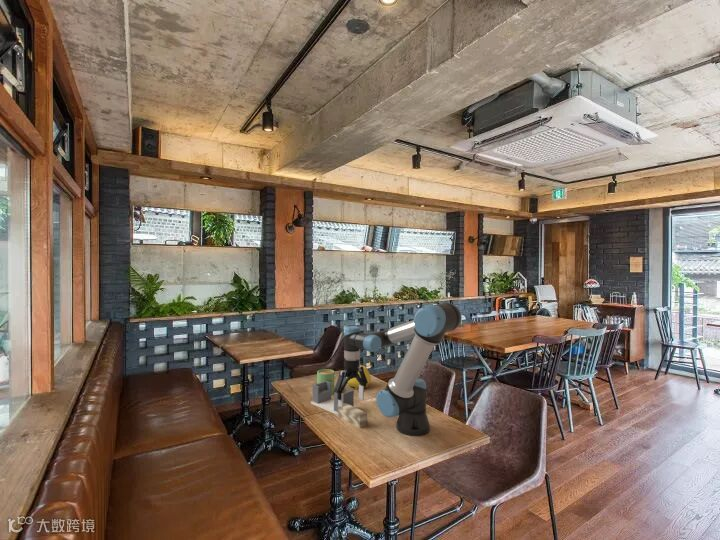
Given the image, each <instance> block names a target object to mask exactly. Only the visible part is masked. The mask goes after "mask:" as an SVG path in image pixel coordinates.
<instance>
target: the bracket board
mask: <svg viewBox="0 0 720 540" xmlns="http://www.w3.org/2000/svg"><path fill="white" fill-rule="evenodd" d="M345 390H346V391H345V392H342V393H343V403H347V404H349V405H351V406H353V407H355V406H354V396H355V395H354V392H355V391H354V390H353V389H350V388H346V389H345ZM310 404H311V405H313V406H317V407H318V408H321V409H323V410H325V411H327V412H330V413H332V414H335V416H338V399H337V393H336V392H334V393H333V398H332V394H331V383H330V382H327V381H325V382H321V383H318V384H317V383H316V384H315V383H314V384H312V401H311V400H310Z"/></svg>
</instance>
